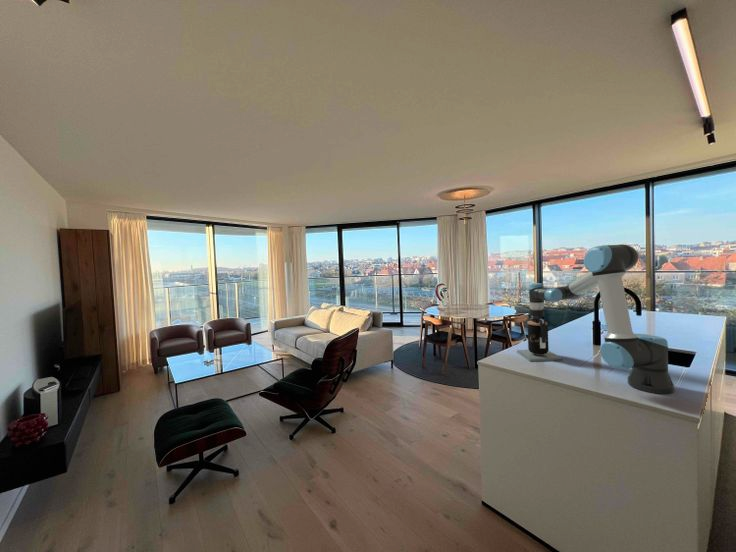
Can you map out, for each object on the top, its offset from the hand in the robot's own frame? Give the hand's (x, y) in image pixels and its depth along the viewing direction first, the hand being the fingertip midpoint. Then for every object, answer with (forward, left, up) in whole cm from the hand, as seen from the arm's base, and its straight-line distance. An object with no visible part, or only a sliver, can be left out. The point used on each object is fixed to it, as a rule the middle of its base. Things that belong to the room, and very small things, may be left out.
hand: (538, 345), depth 181 cm
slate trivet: (0, 0, -7) cm, 7 cm away
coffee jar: (0, 0, -4) cm, 4 cm away
